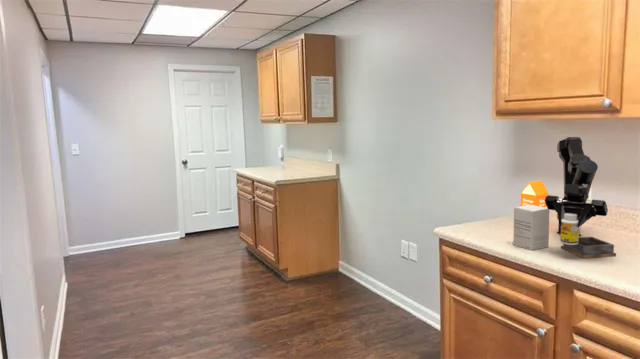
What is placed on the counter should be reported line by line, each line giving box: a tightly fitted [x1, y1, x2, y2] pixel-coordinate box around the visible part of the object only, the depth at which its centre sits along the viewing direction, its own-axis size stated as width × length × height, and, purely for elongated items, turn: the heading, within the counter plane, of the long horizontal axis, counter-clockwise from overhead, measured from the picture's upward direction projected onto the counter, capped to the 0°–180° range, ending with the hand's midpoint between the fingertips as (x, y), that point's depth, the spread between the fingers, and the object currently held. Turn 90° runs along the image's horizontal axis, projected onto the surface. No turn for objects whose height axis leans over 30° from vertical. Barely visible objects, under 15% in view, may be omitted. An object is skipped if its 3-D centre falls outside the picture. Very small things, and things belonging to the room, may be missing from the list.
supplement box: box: [512, 205, 550, 251], centre depth 168 cm, size 9×9×15 cm
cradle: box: [560, 236, 617, 260], centre depth 158 cm, size 12×12×4 cm
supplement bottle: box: [559, 213, 580, 245], centre depth 152 cm, size 6×6×10 cm
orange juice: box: [520, 180, 550, 208], centre depth 198 cm, size 8×9×20 cm
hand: (568, 225), depth 151 cm, fingers closed on supplement bottle, 5 cm apart
